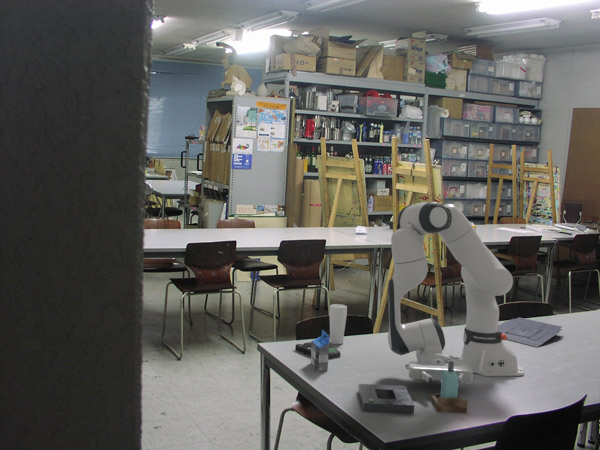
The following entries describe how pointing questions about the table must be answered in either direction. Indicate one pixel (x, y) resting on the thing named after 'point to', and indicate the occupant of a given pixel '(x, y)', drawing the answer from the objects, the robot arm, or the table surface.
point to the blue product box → (320, 352)
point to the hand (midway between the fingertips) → (444, 380)
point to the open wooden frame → (449, 404)
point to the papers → (528, 331)
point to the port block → (397, 404)
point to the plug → (449, 382)
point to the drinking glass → (337, 323)
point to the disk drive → (307, 350)
